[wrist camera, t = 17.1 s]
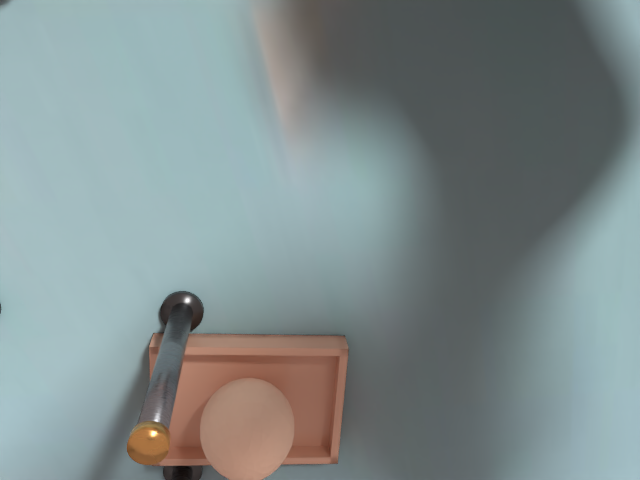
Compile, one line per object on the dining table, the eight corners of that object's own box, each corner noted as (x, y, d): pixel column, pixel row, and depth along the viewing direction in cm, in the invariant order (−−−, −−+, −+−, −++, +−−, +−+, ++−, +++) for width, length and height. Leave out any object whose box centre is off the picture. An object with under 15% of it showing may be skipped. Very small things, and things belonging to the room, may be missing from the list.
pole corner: (203, 291, 43) (179, 421, 29) (203, 328, 44) (179, 472, 30) (161, 290, 43) (115, 422, 29) (161, 328, 44) (117, 473, 30)
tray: (344, 335, 46) (348, 348, 44) (334, 446, 49) (337, 463, 47) (153, 333, 44) (149, 346, 42) (156, 448, 47) (152, 465, 45)
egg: (306, 409, 47) (316, 482, 39) (231, 446, 47) (227, 524, 40) (266, 344, 45) (268, 407, 37) (187, 383, 45) (174, 453, 38)
